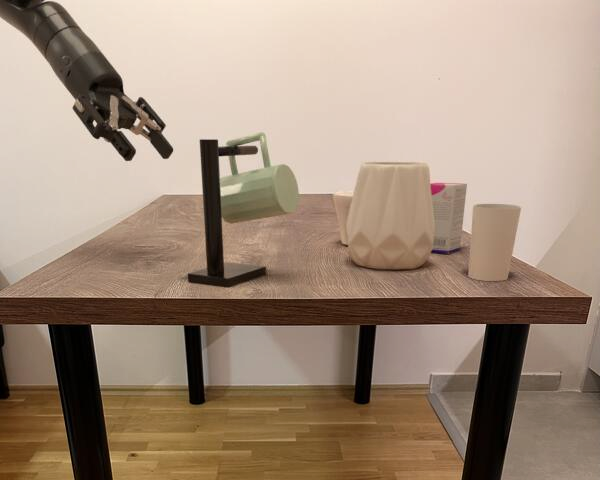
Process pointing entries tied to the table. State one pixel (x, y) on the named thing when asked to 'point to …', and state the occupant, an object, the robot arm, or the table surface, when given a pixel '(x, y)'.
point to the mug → (257, 188)
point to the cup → (343, 211)
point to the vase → (391, 216)
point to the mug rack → (219, 221)
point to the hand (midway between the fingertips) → (151, 155)
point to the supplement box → (448, 216)
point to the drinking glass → (492, 241)
